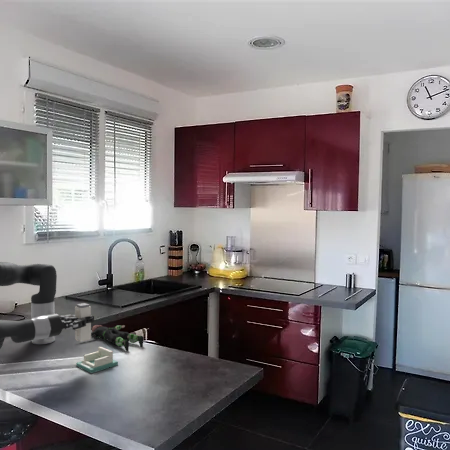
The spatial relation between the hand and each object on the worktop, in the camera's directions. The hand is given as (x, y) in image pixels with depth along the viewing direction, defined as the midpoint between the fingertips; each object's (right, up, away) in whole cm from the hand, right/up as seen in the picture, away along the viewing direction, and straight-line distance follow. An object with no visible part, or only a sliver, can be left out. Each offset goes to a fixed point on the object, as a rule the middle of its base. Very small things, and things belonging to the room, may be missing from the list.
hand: (90, 317), depth 162 cm
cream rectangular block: (-2, -8, -2) cm, 8 cm away
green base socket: (+2, -18, +1) cm, 18 cm away
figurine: (+1, -17, +30) cm, 34 cm away
